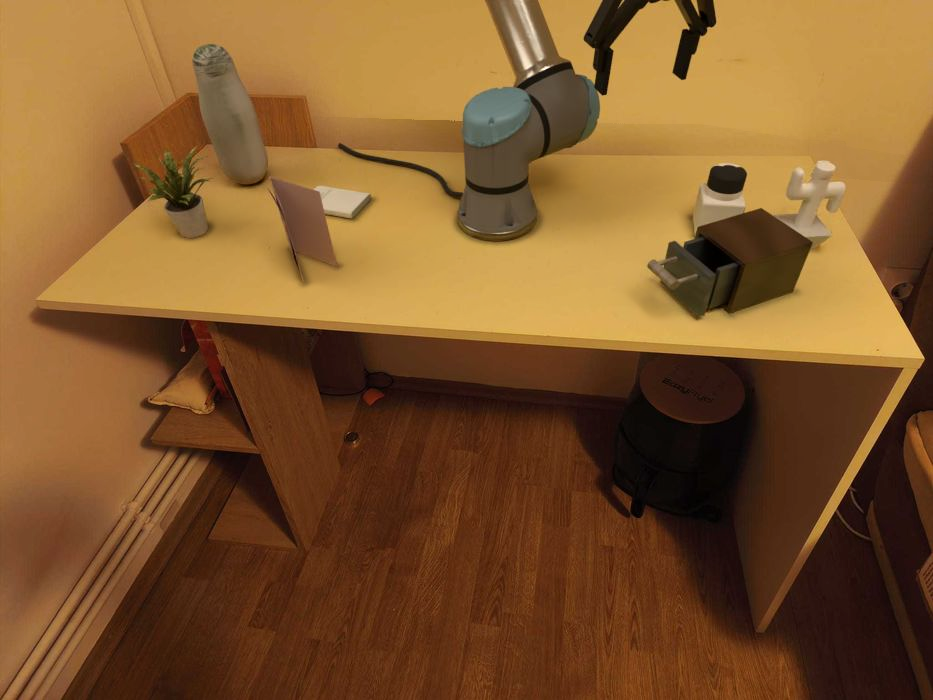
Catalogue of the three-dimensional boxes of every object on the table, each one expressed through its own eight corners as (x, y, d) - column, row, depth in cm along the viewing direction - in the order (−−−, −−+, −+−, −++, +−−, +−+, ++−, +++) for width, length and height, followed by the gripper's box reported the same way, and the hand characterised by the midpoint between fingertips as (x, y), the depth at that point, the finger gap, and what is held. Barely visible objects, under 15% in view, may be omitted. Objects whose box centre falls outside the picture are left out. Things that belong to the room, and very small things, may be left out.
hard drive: (352, 220, 122) (299, 210, 125) (371, 199, 127) (320, 190, 131) (350, 213, 120) (297, 203, 124) (370, 192, 126) (318, 183, 129)
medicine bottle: (735, 240, 110) (754, 179, 102) (694, 237, 112) (709, 177, 103) (731, 219, 115) (748, 159, 107) (692, 216, 117) (706, 157, 108)
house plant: (250, 229, 121) (224, 150, 110) (186, 261, 114) (151, 180, 103) (213, 205, 128) (184, 129, 117) (150, 234, 121) (114, 156, 110)
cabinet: (729, 313, 96) (745, 263, 90) (685, 275, 104) (697, 226, 97) (792, 292, 99) (813, 242, 93) (745, 256, 107) (761, 207, 100)
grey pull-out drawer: (671, 326, 93) (681, 286, 88) (634, 290, 100) (641, 250, 95) (758, 297, 97) (772, 256, 92) (717, 263, 104) (728, 224, 99)
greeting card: (286, 250, 115) (263, 177, 104) (324, 240, 117) (306, 167, 106) (299, 284, 107) (276, 208, 97) (340, 272, 109) (322, 197, 99)
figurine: (831, 253, 106) (866, 173, 96) (776, 255, 106) (806, 176, 96) (813, 230, 112) (845, 152, 101) (761, 232, 112) (787, 155, 101)
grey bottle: (217, 183, 135) (169, 48, 116) (256, 165, 140) (215, 33, 121) (244, 196, 130) (197, 58, 111) (282, 177, 136) (245, 42, 116)
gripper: (597, -59, 74) (577, 109, 90) (773, -84, 78) (724, 80, 95) (570, -77, 78) (555, 86, 94) (738, -99, 83) (697, 60, 99)
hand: (640, 83), depth 94 cm, fingers open, 13 cm apart
